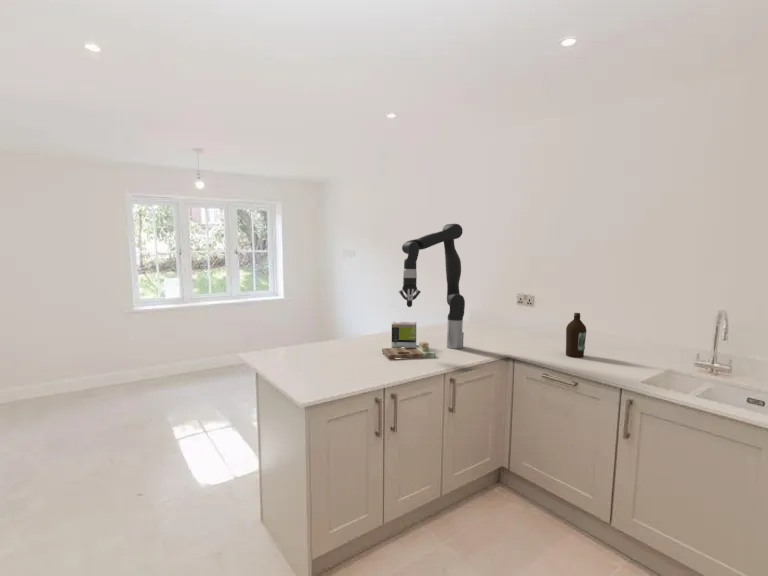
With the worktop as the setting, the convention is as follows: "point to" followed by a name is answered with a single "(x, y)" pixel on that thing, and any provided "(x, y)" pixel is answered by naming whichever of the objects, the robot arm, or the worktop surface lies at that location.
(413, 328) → the tea box
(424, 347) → the block
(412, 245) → the robot arm
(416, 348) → the board
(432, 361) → the worktop surface
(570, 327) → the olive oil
